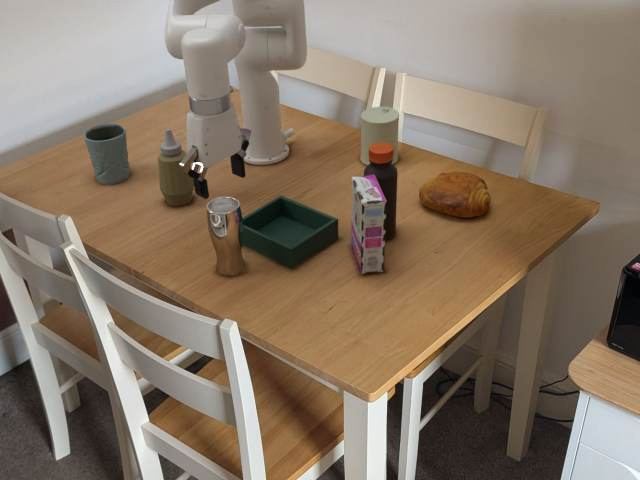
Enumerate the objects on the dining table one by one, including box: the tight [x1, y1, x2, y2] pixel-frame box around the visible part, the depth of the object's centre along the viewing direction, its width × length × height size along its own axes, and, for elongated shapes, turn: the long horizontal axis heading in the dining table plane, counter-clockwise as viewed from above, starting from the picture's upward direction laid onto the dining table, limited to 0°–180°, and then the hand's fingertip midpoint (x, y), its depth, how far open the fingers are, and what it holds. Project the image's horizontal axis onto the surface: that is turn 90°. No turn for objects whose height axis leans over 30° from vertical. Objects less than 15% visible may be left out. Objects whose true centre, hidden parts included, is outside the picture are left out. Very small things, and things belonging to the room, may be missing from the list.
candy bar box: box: [350, 175, 387, 275], centre depth 159 cm, size 11×5×16 cm, turn 5°
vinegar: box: [363, 143, 399, 241], centre depth 165 cm, size 7×7×20 cm
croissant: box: [418, 170, 491, 219], centre depth 176 cm, size 14×16×8 cm
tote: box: [242, 195, 340, 270], centre depth 170 cm, size 15×17×5 cm
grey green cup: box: [83, 123, 131, 185], centre depth 198 cm, size 10×10×12 cm
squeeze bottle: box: [157, 128, 195, 207], centre depth 183 cm, size 8×8×18 cm
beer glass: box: [206, 196, 246, 277], centre depth 160 cm, size 7×7×15 cm
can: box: [359, 106, 400, 166], centre depth 193 cm, size 9×9×12 cm
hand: (220, 185), depth 153 cm, fingers open, 9 cm apart
